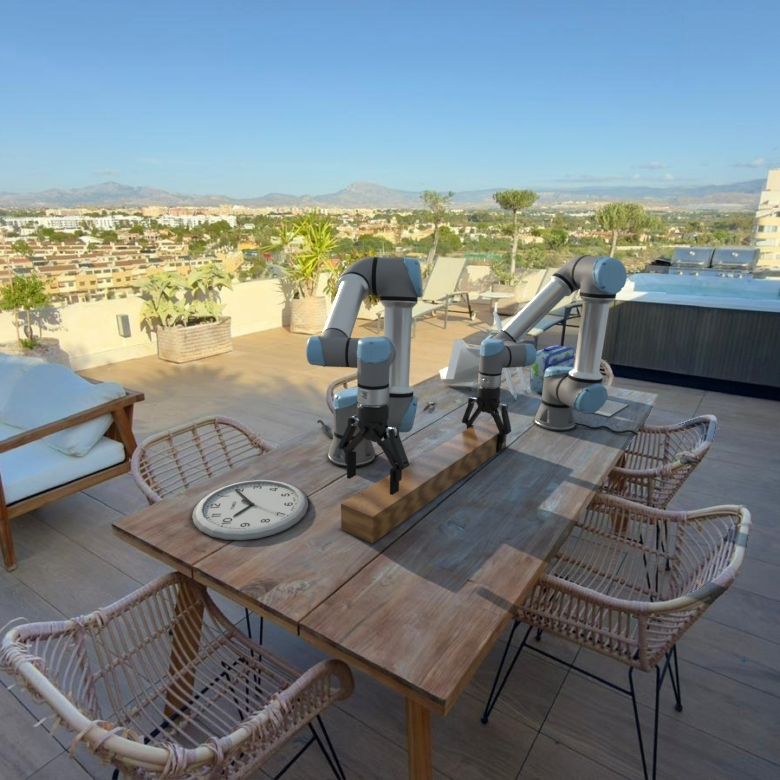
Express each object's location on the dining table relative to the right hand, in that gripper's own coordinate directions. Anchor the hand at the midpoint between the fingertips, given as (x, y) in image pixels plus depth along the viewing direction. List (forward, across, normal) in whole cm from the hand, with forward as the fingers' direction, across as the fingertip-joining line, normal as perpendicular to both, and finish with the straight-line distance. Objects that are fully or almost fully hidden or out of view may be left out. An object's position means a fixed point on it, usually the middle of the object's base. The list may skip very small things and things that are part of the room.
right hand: (484, 447), depth 181 cm
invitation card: (+1, +19, +73) cm, 75 cm away
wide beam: (+1, 0, -31) cm, 31 cm away
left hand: (-11, 0, -62) cm, 63 cm away
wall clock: (+1, -30, -76) cm, 82 cm away
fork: (+1, -39, +25) cm, 47 cm away
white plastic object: (+1, -32, +57) cm, 65 cm away
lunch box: (+1, -7, +82) cm, 82 cm away
